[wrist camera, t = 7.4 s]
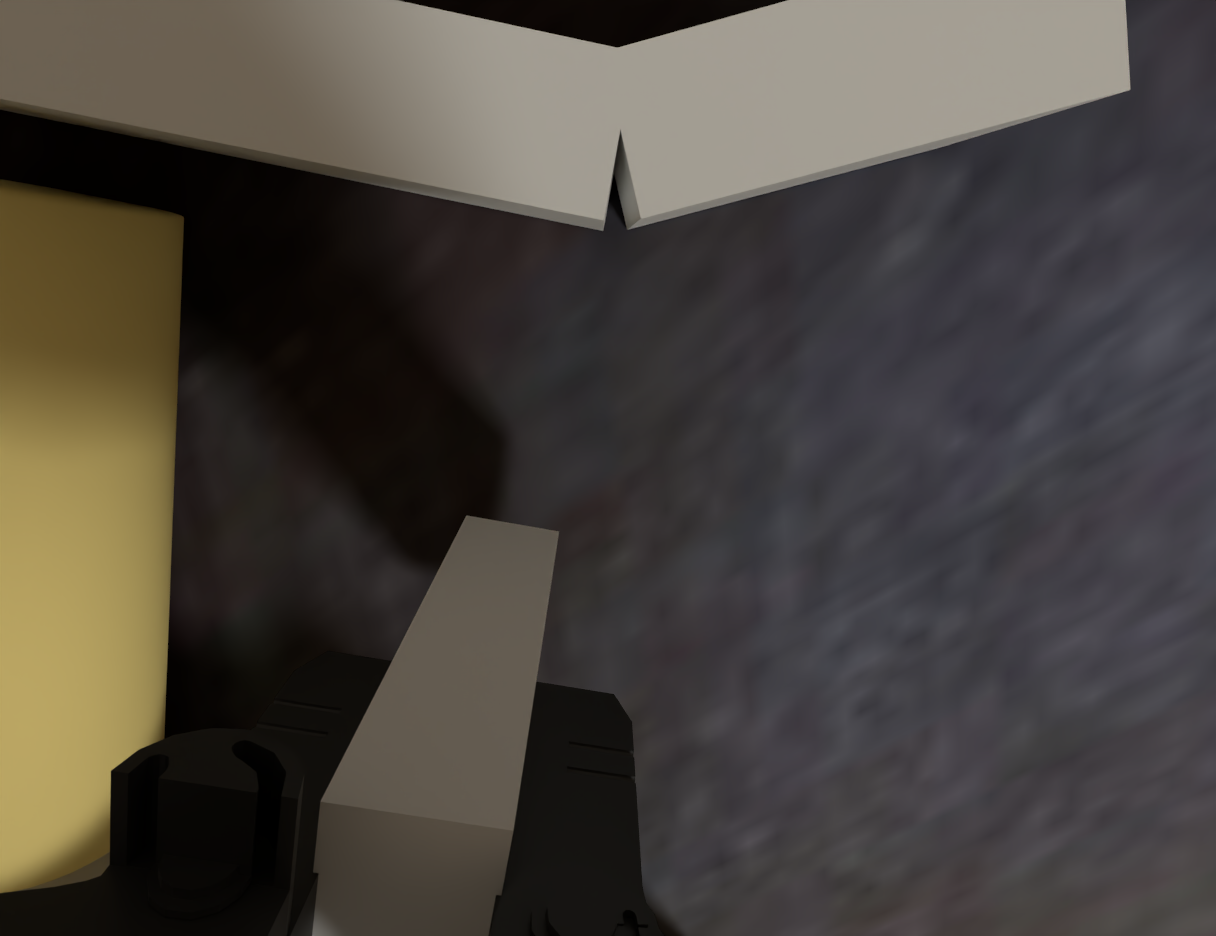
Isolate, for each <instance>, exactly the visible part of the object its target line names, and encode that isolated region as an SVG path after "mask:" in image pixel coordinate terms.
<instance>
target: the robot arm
mask: <svg viewBox="0 0 1216 936" xmlns="http://www.w3.org/2000/svg"><path fill="white" fill-rule="evenodd" d="M558 535H559V531H553V530H547V529H541V528H536V527H530V526H524V525H518V524H513V523H507V522H501V521H495V520H490V519H484V518H478V517H472V516H467V515H466V517H465V519H464V521H463V523H462V525H461V527H460V529H459V531H458V533H457V535H456V537H455V539H454V541H453V543H452V545H451V547H450V549H449V551H448V553H447V554H446V556H445V558H444V560H443V562H442V564H441V566H440V568H439V570H438V572H437V574H436V576H435V578H434V580H433V582H432V584H431V586H430V588H429V590H428V592H427V594H426V596H425V598H424V600H423V602H422V603H421V605H420V607H419V609H418V611H417V613H416V615H415V617H414V619H413V621H412V623H411V625H410V627H409V629H408V631H407V633H406V635H405V637H404V639H403V641H402V643H401V645H400V647H399V649H398V650H397V652H396V654H395V656H394V658H393V660H392V661H387V660H381V659H375V658H369V657H363V656H356V655H350V654H344V653H338V652H332V651H327V652H325V653H324V654H322V655H320V656H319V657H317V658H315V659H314V660H312V661H310V662H309V663H307V664H305V665H303V666H302V667H300V668H298V669H297V670H295V671H294V672H293V673H292V675H291V676H290V678H289V679H288V680H287V682H286V683H285V684H284V686H283V687H282V688H281V690H280V691H279V693H278V694H277V695H276V697H275V698H274V702H273V704H270V705H269V706H268V708H267V709H266V710H265V712H264V713H263V714H262V716H261V717H260V719H259V720H258V722H257V726H256V728H254V727H253V728H252V730H248V729H226V728H209V729H203V730H198V731H192V732H187V733H182V734H176V735H172V736H170V737H168V738H165V739H163V740H161V741H158V742H156V743H153V744H151V745H149V746H146V747H144V748H141V749H139V750H138V751H136V752H135V753H134V754H132V755H131V756H130V757H128V758H127V759H126V760H124V761H123V762H122V763H121V764H119V765H118V766H117V767H115V768H114V769H113V770H111V798H110V865H109V866H108V867H107V869H106V870H105V871H104V872H103V874H102V875H101V876H99V877H96V878H93V879H90V880H87V881H82V882H77V883H72V884H66V885H61V886H56V887H49V888H40V889H31V890H23V891H14V892H5V893H0V936H664V935H663V933H662V932H661V931H660V929H659V927H658V924H657V921H656V917H655V914H654V913H653V912H652V910H651V909H650V908H649V906H648V905H647V904H646V901H645V896H644V892H643V887H642V874H641V858H640V842H639V826H638V811H637V795H636V783H635V763H634V757H633V753H634V748H633V732H632V721H631V720H630V718H629V717H628V715H627V714H626V712H625V711H624V709H623V707H622V706H621V704H620V703H619V701H618V700H617V698H616V697H615V695H614V694H609V693H603V692H597V691H591V690H585V689H578V688H572V687H566V686H560V685H554V684H548V683H541V682H536V679H537V673H538V666H539V660H540V653H541V647H542V640H543V633H544V627H545V620H546V614H547V607H548V601H549V594H550V587H551V581H552V574H553V568H554V561H555V555H556V548H557V542H558Z"/></svg>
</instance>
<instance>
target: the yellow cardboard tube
mask: <svg viewBox="0 0 1216 936" xmlns="http://www.w3.org/2000/svg"><path fill="white" fill-rule="evenodd" d="M183 232H184V217H183V216H181V215H178V214H175V213H172V212H168V211H164V210H160V209H156V208H152V207H146V206H141V205H136V204H131V203H126V202H121V201H116V200H111V199H106V198H100V197H95V196H90V195H85V194H80V193H75V192H70V191H65V190H60V189H54V188H49V187H44V186H38V185H32V184H26V183H21V182H15V181H9V180H3V179H0V893H5V892H14V891H19V890H23V889H27V888H31V887H34V886H37V885H40V884H43V883H46V882H49V881H52V880H55V879H57V878H60V877H62V876H65V875H67V874H70V873H72V872H74V871H76V870H78V869H80V868H82V867H84V866H86V865H88V864H90V863H92V862H94V861H95V860H97V859H99V858H100V857H102V856H104V855H105V854H107V853H109V852H110V798H111V770H113V769H114V768H115V767H117V766H118V765H119V764H121V763H122V762H123V761H124V760H126V759H127V758H128V757H130V756H131V755H132V754H134V753H135V752H136V751H138V750H139V749H141V748H144V747H146V746H149V745H151V744H153V743H156V742H158V741H161V740H163V739H164V736H165V709H166V683H167V656H168V630H169V603H170V577H171V550H172V524H173V497H174V471H175V444H176V418H177V391H178V365H179V338H180V311H181V285H182V258H183Z"/></svg>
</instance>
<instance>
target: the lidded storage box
mask: <svg viewBox="0 0 1216 936" xmlns="http://www.w3.org/2000/svg"><path fill="white" fill-rule="evenodd" d="M1128 90H1130V75H1129V58H1128V40H1127V22H1126V5H1125V0H787V1H784V2H780V3H776V4H773V5H769V6H766V7H762V8H758V9H755V10H751V11H748V12H744V13H740V14H737V15H733V16H730V17H726V18H723V19H719V20H715V21H712V22H708V23H705V24H701V25H697V26H694V27H690V28H687V29H683V30H679V31H676V32H672V33H669V34H665V35H661V36H658V37H654V38H651V39H647V40H643V41H640V42H636V43H633V44H629V45H625V46H622V47H618V48H616V47H612V46H607V45H602V44H598V43H593V42H588V41H584V40H579V39H574V38H570V37H565V36H561V35H556V34H551V33H547V32H542V31H537V30H533V29H528V28H523V27H519V26H514V25H510V24H505V23H500V22H496V21H491V20H486V19H482V18H477V17H473V16H468V15H463V14H459V13H454V12H449V11H445V10H440V9H435V8H431V7H426V6H422V5H417V4H412V3H408V2H403V1H398V0H0V110H5V111H10V112H15V113H20V114H24V115H29V116H34V117H39V118H44V119H49V120H54V121H59V122H64V123H69V124H74V125H79V126H84V127H89V128H94V129H99V130H104V131H109V132H114V133H119V134H124V135H129V136H134V137H139V138H144V139H149V140H154V141H159V142H164V143H169V144H174V145H179V146H184V147H188V148H193V149H198V150H203V151H208V152H213V153H218V154H223V155H228V156H233V157H238V158H243V159H248V160H253V161H258V162H263V163H268V164H273V165H278V166H283V167H288V168H293V169H298V170H303V171H308V172H313V173H318V174H323V175H328V176H333V177H338V178H343V179H348V180H353V181H357V182H362V183H367V184H372V185H377V186H382V187H387V188H392V189H397V190H402V191H407V192H412V193H417V194H422V195H427V196H432V197H437V198H442V199H447V200H452V201H457V202H462V203H467V204H472V205H477V206H482V207H487V208H492V209H497V210H502V211H507V212H512V213H517V214H522V215H526V216H531V217H536V218H541V219H546V220H551V221H556V222H561V223H566V224H571V225H576V226H581V227H586V228H591V229H596V230H601V231H603V229H604V224H605V218H606V213H607V207H608V202H609V196H610V191H611V185H612V180H613V174H614V176H615V180H616V184H617V189H618V193H619V197H620V202H621V206H622V210H623V214H624V219H625V223H626V227H627V230H628V229H632V228H636V227H640V226H644V225H647V224H651V223H655V222H659V221H663V220H666V219H670V218H674V217H678V216H682V215H685V214H689V213H693V212H697V211H701V210H704V209H708V208H712V207H716V206H720V205H723V204H727V203H731V202H735V201H739V200H743V199H746V198H750V197H754V196H758V195H762V194H765V193H769V192H773V191H777V190H781V189H784V188H788V187H792V186H796V185H800V184H803V183H807V182H811V181H815V180H819V179H822V178H826V177H830V176H834V175H838V174H841V173H845V172H849V171H853V170H857V169H860V168H864V167H868V166H872V165H876V164H879V163H883V162H887V161H891V160H895V159H898V158H902V157H906V156H910V155H914V154H917V153H921V152H925V151H929V150H933V149H936V148H940V147H943V146H947V145H950V144H953V143H956V142H960V141H963V140H966V139H970V138H973V137H976V136H980V135H983V134H986V133H989V132H993V131H996V130H999V129H1003V128H1006V127H1009V126H1013V125H1016V124H1019V123H1022V122H1026V121H1029V120H1032V119H1036V118H1039V117H1042V116H1046V115H1049V114H1052V113H1056V112H1059V111H1062V110H1065V109H1069V108H1072V107H1075V106H1079V105H1082V104H1085V103H1089V102H1092V101H1095V100H1098V99H1102V98H1105V97H1108V96H1112V95H1115V94H1118V93H1122V92H1125V91H1128ZM109 865H110V852H109V853H107V854H105V855H104V856H102V857H100V858H99V859H97V860H95V861H94V862H92V863H90V864H88V865H86V866H84V867H82V868H80V869H78V870H76V871H74V872H72V873H70V874H67V875H65V876H62V877H60V878H57V879H55V880H52V881H49V882H46V883H43V884H40V885H37V886H34V887H31V888H27V889H23V890H31V889H40V888H49V887H56V886H61V885H66V884H72V883H77V882H82V881H87V880H90V879H93V878H96V877H99V876H101V875H102V874H103V872H104V871H105V870H106V869H107V867H108V866H109ZM23 890H19V891H23Z"/></svg>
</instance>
